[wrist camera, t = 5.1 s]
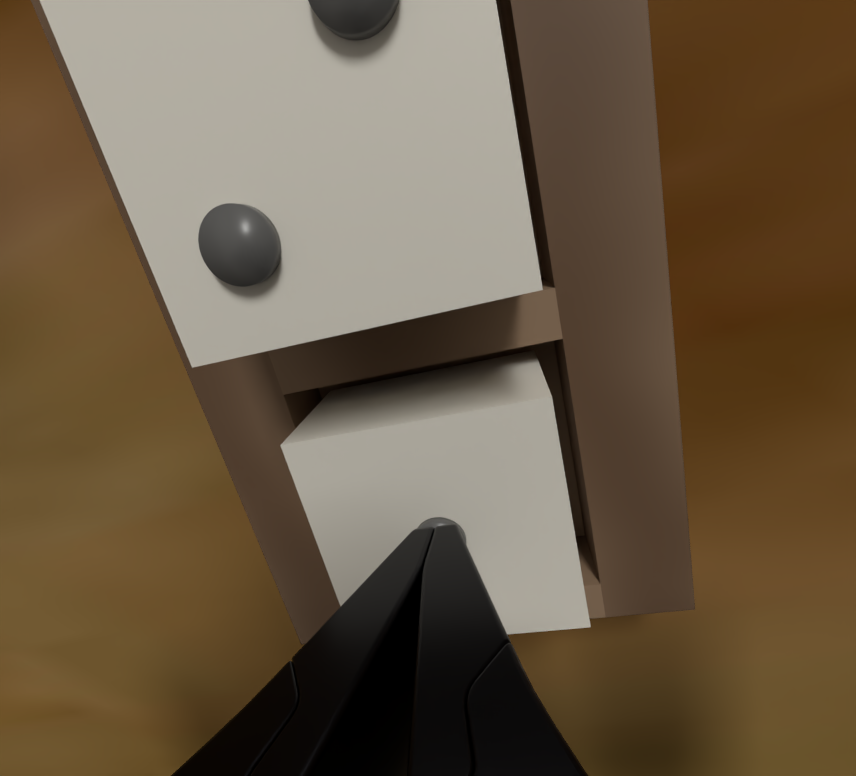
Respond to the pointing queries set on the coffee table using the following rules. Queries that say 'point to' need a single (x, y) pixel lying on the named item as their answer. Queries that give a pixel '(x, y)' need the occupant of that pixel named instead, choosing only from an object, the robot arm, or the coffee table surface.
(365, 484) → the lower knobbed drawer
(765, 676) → the coffee table surface
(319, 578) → the brown dotted block frame
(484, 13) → the two pip tile
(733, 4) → the coffee table surface
